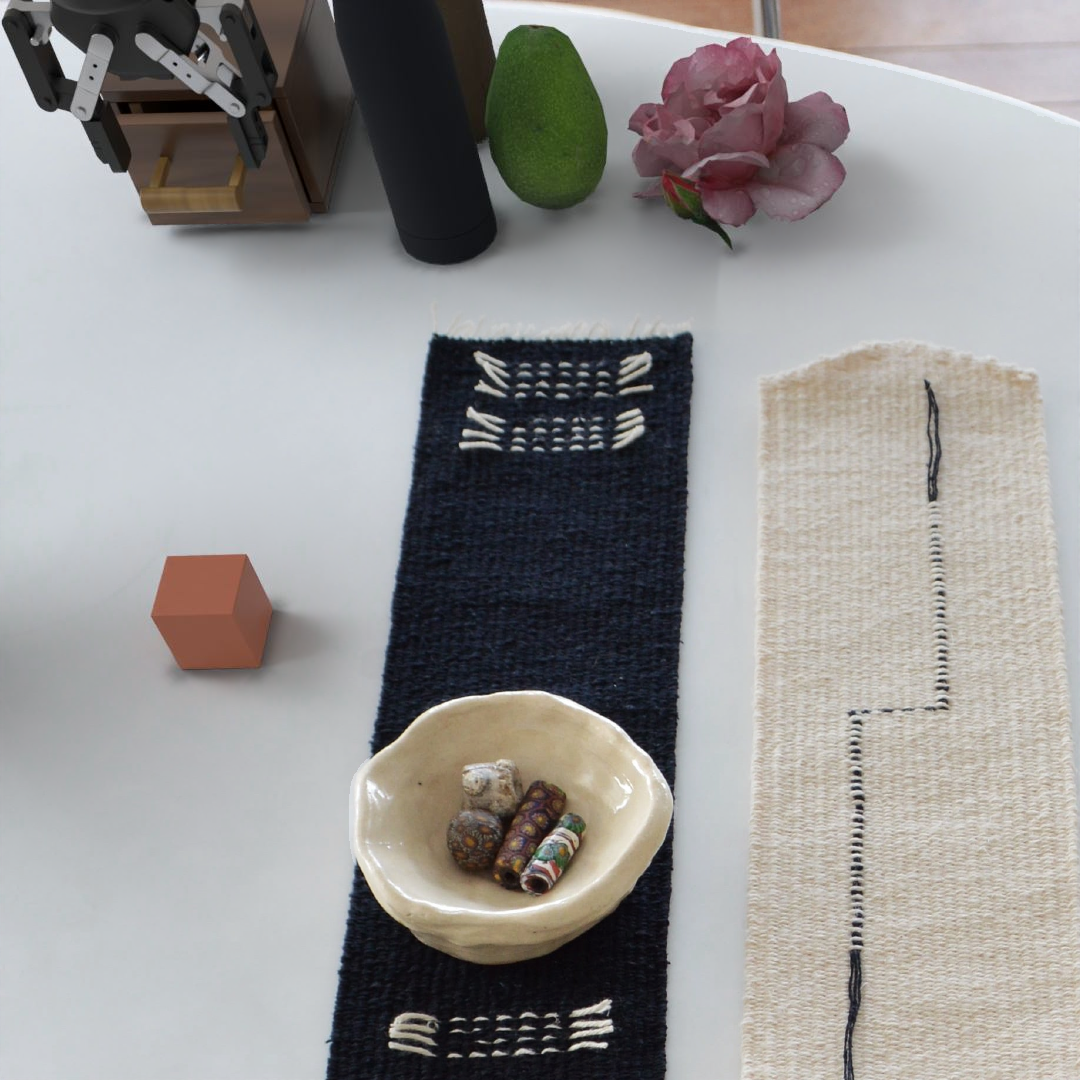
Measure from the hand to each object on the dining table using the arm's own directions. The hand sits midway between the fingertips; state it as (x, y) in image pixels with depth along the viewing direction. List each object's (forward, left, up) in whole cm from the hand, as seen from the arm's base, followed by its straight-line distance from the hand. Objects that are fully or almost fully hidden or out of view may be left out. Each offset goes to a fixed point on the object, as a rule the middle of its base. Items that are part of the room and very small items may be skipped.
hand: (189, 163), depth 110 cm
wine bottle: (+14, +2, -7) cm, 16 cm away
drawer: (0, +6, -6) cm, 9 cm away
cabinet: (0, +11, -7) cm, 14 cm away
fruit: (+21, +6, -7) cm, 23 cm away
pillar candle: (+12, +15, -7) cm, 21 cm away
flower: (+34, +4, -7) cm, 35 cm away
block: (+6, -33, -7) cm, 34 cm away
